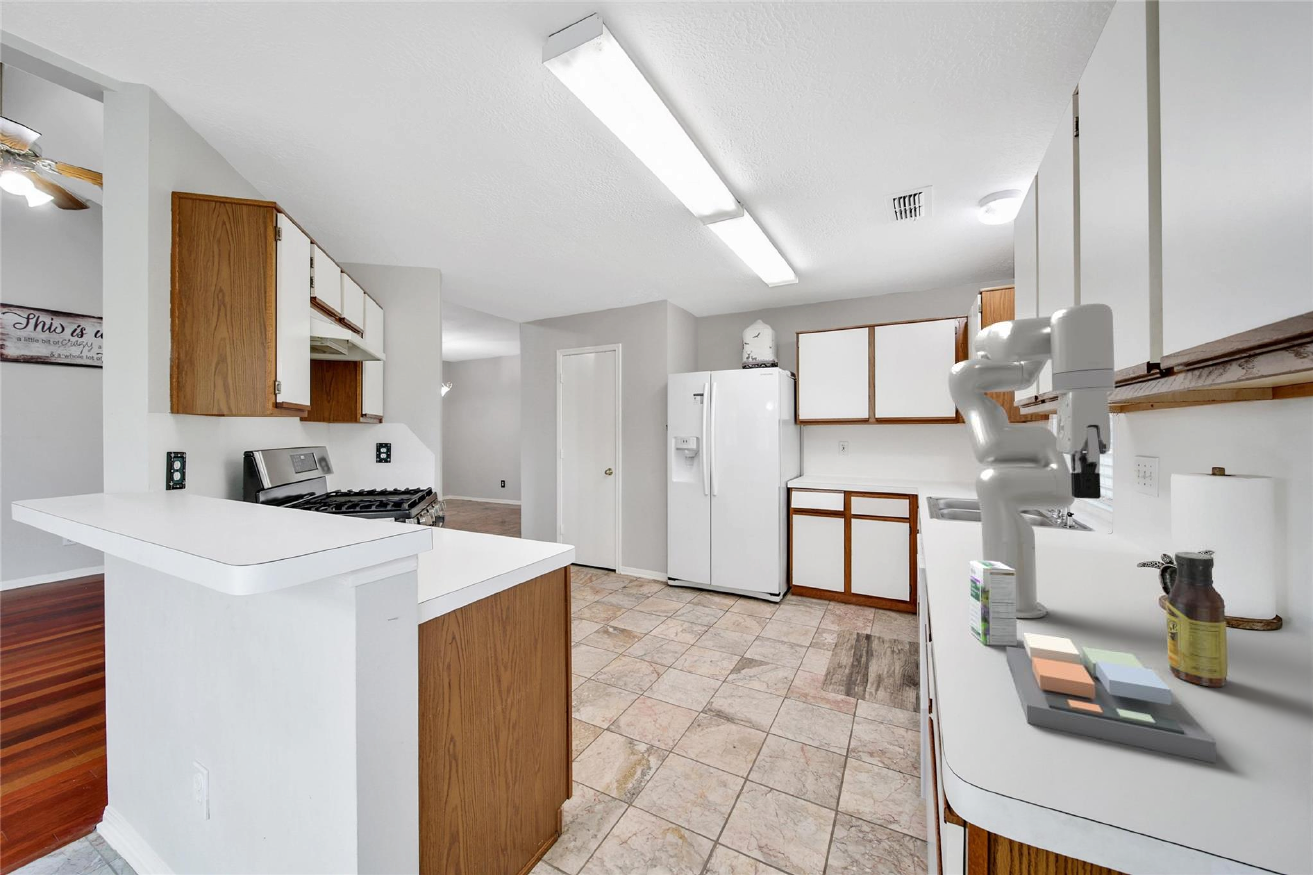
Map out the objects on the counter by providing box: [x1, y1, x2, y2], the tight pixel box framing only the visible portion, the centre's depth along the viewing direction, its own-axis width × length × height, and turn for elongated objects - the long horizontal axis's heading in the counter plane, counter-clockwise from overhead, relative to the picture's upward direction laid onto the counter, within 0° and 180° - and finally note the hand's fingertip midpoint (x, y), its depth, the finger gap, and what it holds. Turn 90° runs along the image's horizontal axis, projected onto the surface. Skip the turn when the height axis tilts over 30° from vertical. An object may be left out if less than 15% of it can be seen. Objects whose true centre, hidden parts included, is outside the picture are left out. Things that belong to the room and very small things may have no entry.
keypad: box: [1005, 645, 1217, 764], centre depth 70 cm, size 20×18×3 cm
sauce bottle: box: [1165, 551, 1228, 688], centre depth 75 cm, size 7×6×20 cm
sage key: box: [1081, 646, 1145, 677], centre depth 73 cm, size 6×6×2 cm
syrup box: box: [969, 560, 1018, 647], centre depth 92 cm, size 6×6×14 cm
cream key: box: [1023, 632, 1081, 665], centre depth 77 cm, size 6×6×2 cm
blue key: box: [1096, 661, 1172, 705], centre depth 66 cm, size 6×6×2 cm
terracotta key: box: [1032, 657, 1095, 699], centre depth 70 cm, size 6×6×2 cm
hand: (1085, 497), depth 77 cm, fingers closed
